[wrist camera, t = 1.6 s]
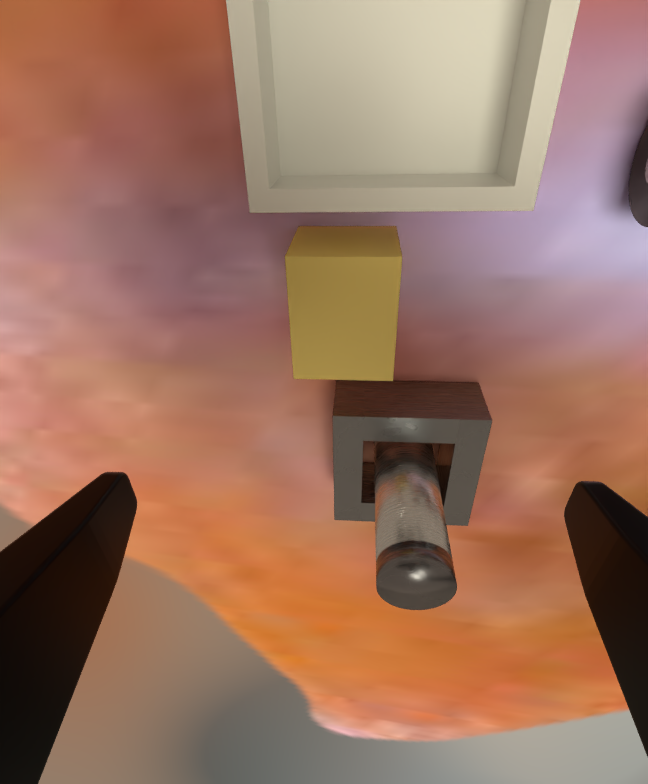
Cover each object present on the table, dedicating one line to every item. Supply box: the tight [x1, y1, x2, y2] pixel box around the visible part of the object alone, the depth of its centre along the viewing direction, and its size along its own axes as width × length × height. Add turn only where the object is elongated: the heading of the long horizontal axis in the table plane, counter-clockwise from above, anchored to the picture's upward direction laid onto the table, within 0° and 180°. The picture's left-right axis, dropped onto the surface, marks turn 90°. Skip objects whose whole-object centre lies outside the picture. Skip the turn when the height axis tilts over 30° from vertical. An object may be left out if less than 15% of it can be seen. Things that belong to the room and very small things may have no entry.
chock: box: [285, 226, 402, 381], centre depth 19 cm, size 5×4×4 cm
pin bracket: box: [333, 380, 492, 526], centre depth 23 cm, size 7×7×3 cm
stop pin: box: [374, 441, 457, 610], centre depth 21 cm, size 3×3×9 cm
